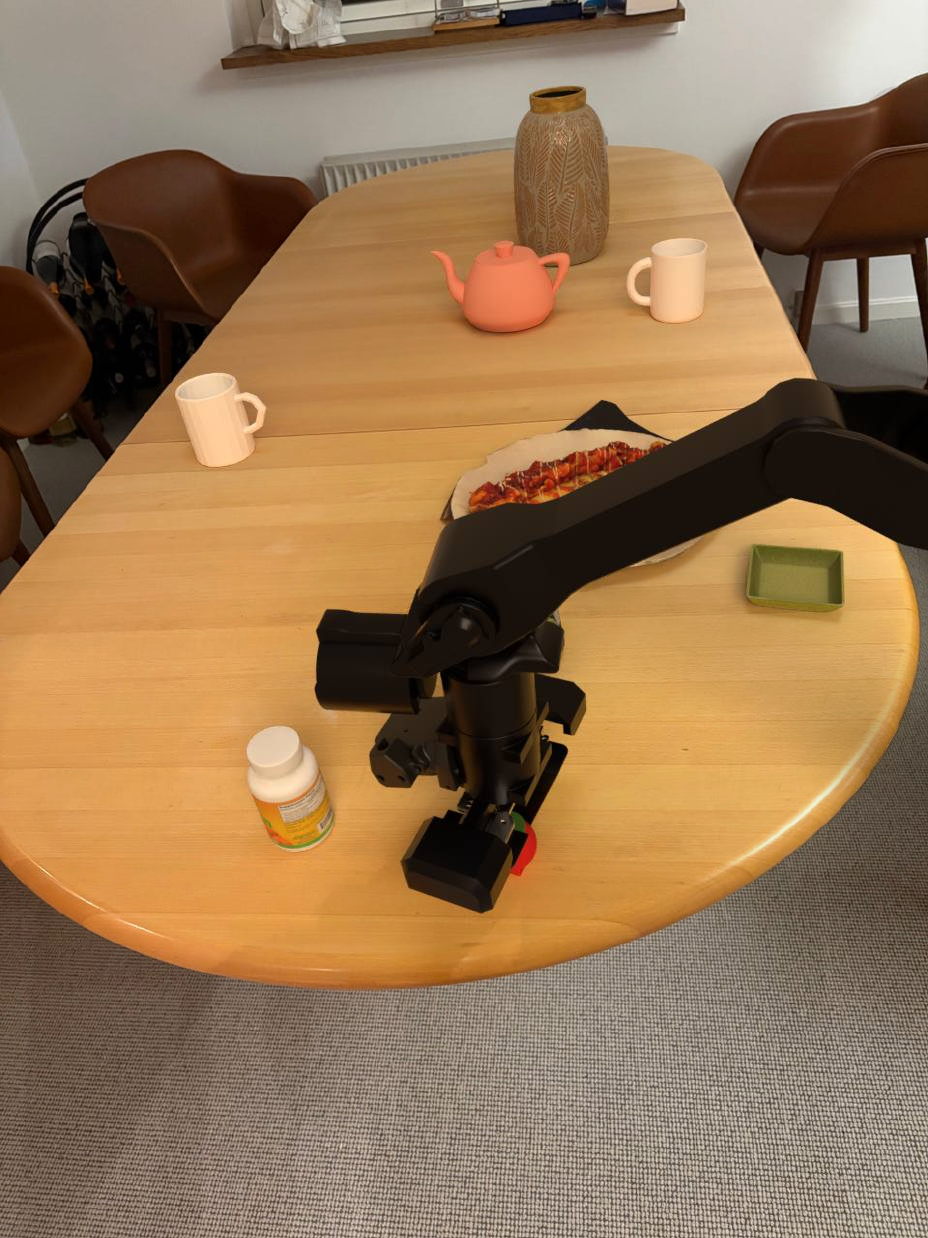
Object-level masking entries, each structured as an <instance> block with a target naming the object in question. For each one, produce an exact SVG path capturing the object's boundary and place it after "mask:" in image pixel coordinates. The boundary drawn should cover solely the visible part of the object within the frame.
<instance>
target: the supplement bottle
mask: <svg viewBox="0 0 928 1238" xmlns="http://www.w3.org/2000/svg"><path fill="white" fill-rule="evenodd" d="M246 758H247V760H248V763H249V766H248V769H247V771H246V772H247V773H246V781H247V785H248V788H249V791H250V793H251V796H252V798H253V801H254V804H255V806H256V808H257V811H258V813H259V815H260V817H261V820H262V822H263V824H264V827H265V829H266V832H267V834H268V836H269V838H270V840H271V842H272V843H273V844H274V845H275V846H276V847H277V848H279V849H280V850H283V851H286V852H292V853H298V852H299V853H300V852H304V851H309V850H310V849H314V848H315V847H317V846H319V845H320V844H321V843H322V842H324V841H325V840H326V838H327V837H328V836H329V835H330V834H331V831H332V830H333V828H334V825H335V819H336V815H335V810H334V807H333V803H332V801H331V797H330V795H329V792H328V789H327V786H326V783H325V780H324V777H323V775H322V772H321V768H320V766H319V763H318V760H317V757H316V756H315V754H314V752H313V751H312V750H311V749H310V748H309V747H308V746H306V745H304V744H303V743H302V741H301V738H300V735H299V734H298V732H297V731H296V730H295V729H294V728H291V727H289V726H286V725H273V726H269V727H266V728H263V729H262V730H260V731H258V732H257V733H256V734H255V735H254V736H252V738H250V740H249V741H248V744H247V746H246Z"/></svg>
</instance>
